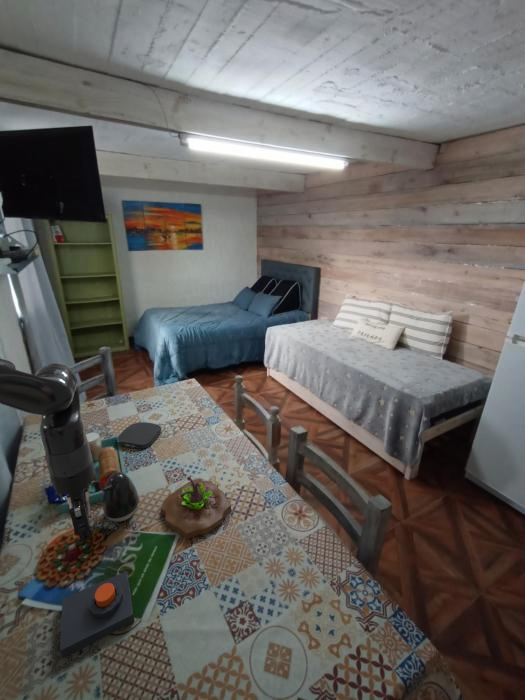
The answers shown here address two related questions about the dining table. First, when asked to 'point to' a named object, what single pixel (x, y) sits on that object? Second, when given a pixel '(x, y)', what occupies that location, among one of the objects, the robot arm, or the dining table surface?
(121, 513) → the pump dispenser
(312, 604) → the dining table surface
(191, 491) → the plant
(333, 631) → the dining table surface
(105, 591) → the lid button
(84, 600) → the push button box
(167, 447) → the dining table surface
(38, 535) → the dining table surface
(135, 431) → the media streaming box
